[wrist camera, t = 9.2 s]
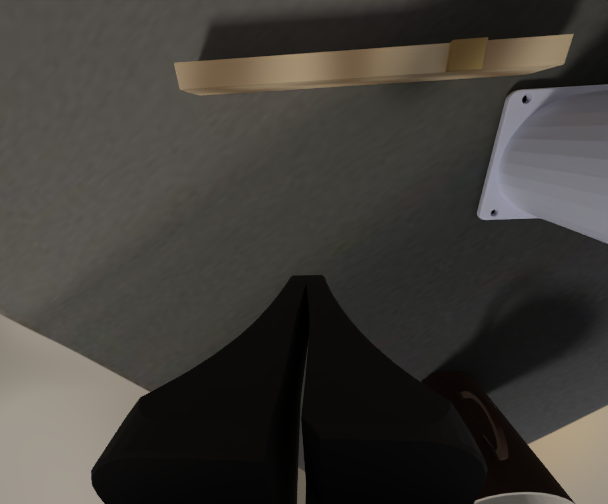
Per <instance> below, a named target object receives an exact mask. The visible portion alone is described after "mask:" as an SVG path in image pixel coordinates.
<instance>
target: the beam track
mask: <svg viewBox="0 0 608 504" xmlns="http://www.w3.org/2000/svg"><path fill="white" fill-rule="evenodd" d="M572 38H573V34H566V35H553V36H539V37H525V38H511V39H497V40H488V37H485V38H471V39H457V40H453V41H451V42H450V43H442V44H428V45H415V46H401V47H387V48H373V49H359V50H346V51H332V52H318V53H304V54H290V55H277V56H263V57H249V58H235V59H221V60H208V61H194V62H180V63H174V65H175V69H176V74H177V78H178V83H179V87H180V90H183V91H186V92H189V93H193V94H196V95H199V96H200V95H215V94H231V93H247V92H262V91H278V90H294V89H309V88H325V87H341V86H357V85H372V84H388V83H404V82H419V81H435V80H451V79H466V78H482V77H498V76H513V75H527V74H531V73H534V72H538V71H542V70H545V69H549V68H552V67H556V66H560V65H563V64H564V62H565V59H566V56H567V53H568V50H569V47H570V44H571V41H572Z"/></svg>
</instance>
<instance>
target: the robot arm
mask: <svg viewBox="0 0 608 504" xmlns="http://www.w3.org/2000/svg"><path fill="white" fill-rule="evenodd" d="M525 95H526V97H527V100H526V102H525V103H524V104H523V102H522V98H523V97H524V96H525ZM493 210H495V212H494V213H493V214H492V215H491V212H492V211H493ZM477 216H478V217H479V218H481V219H483V220H495V219H528V218H542V219H544V220H547V221H550V222H552V223H555V224H558V225H560V226H563V227H565V228H568V229H571V230H573V231H576V232H579V233H581V234H584V235H587V236H589V237H592V238H594V239H597V240H600V241H602V242H605V243H608V84H605V85H589V86H572V87H555V88H539V89H522V90H516V91H513V92H511V93H510V94H509V95H508V96H507V98H506V100H505V104H504V108H503V112H502V116H501V120H500V124H499V128H498V131H497V135H496V139H495V143H494V147H493V151H492V155H491V159H490V163H489V167H488V171H487V175H486V179H485V183H484V187H483V191H482V195H481V199H480V203H479V207H478V211H477ZM308 338H309V341H308ZM307 346H308V355H307V367H306V378H305V388H304V398H303V407H302V416H301V421H302V434H303V447H304V461H305V474H306V504H474V502H475V500H476V498H477V496H478V495H479V493H480V491H481V489H482V487H483V485H484V482H485V479H486V475H487V471H488V469H487V465H486V462H485V459H484V457H483V455H482V453H481V451H480V449H479V447H478V445H477V443H476V441H475V440H474V438H473V436H472V434H471V433H470V431H469V429H468V428H467V426H466V425H465V423H464V421H463V420H462V418H461V417H460V415H459V414H458V412H457V411H456V409H455V408H454V406H453V405H452V403H451V402H450V401H449V400H447V399H446V398H444V397H442V396H441V395H439V394H438V393H436V392H435V391H433V390H432V389H430V388H429V387H427V386H426V385H424V384H423V383H421V382H420V381H418V380H417V379H415V378H414V377H412V376H411V375H409V374H408V373H407V372H405V371H404V370H403V369H401V368H400V367H399V366H398V365H396V364H395V363H394V362H392V361H391V360H390V359H389V358H388V357H387V356H386V355H384V354H383V353H382V352H381V351H380V350H379V349H377V348H376V347H375V346H374V345H373V344H372V343H371V342H370V341H369V340H368V339H367V338H366V337H365V336H364V335H363V334H362V333H361V332H360V331H359V330H358V328H357V327H356V326H355V325H354V324H353V323H352V321H351V320H350V319H349V318H348V316H347V315H346V314H345V312H344V311H343V310H342V308H341V307H340V305H339V304H338V302H337V301H336V299H335V298H334V296H333V294H332V293H331V291H330V289H329V287H328V285H327V283H326V280H325V277H324V276H323V275H302V276H292V277H291V278H290V279H289V281H288V282H287V284H286V285H285V287H284V288H283V289H282V291H281V292H280V293H279V295H278V296H277V297H276V298H275V300H274V301H273V302H272V303H271V305H270V306H269V307H268V308H267V309H266V310H265V311H264V312H263V313H262V315H261V316H260V317H259V318H258V319H257V320H256V321H255V322H254V323H253V324H252V325H251V326H250V327H249V328H247V329H246V330H245V331H244V332H243V333H242V334H241V335H240V336H238V337H237V338H236V339H235V340H233V341H232V342H231V343H229V344H228V345H227V346H225V347H224V348H223V349H221V350H220V351H219V352H217V353H216V354H214V355H213V356H211V357H210V358H208V359H207V360H205V361H204V362H202V363H201V364H199V365H198V366H196V367H194V368H193V369H191V370H190V371H188V372H186V373H185V374H183V375H181V376H179V377H178V378H176V379H174V380H172V381H170V382H168V383H167V384H165V385H163V386H161V387H159V388H157V389H155V390H154V391H152V392H150V393H148V394H146V395H144V396H142V397H140V399H139V400H138V402H137V403H136V404H135V406H134V407H133V408H132V410H131V411H130V412H129V414H128V415H127V417H126V418H125V420H124V421H123V423H122V424H121V426H120V427H119V429H118V430H117V432H116V433H115V435H114V436H113V438H112V439H111V441H110V443H109V444H108V446H107V447H106V449H105V450H104V452H103V453H102V455H101V456H100V458H99V459H98V461H97V462H96V464H95V466H94V467H93V469H92V470H91V474H92V475H91V480H92V486H93V487H94V489H95V491H96V493H97V495H98V496H99V497H100V498H101V500H102V501H103V502H104V503H105V504H297V482H298V454H299V428H300V404H301V392H302V383H303V376H304V368H305V361H306V353H307Z"/></svg>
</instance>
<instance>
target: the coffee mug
mask: <svg viewBox="0 0 608 504" xmlns="http://www.w3.org/2000/svg"><path fill="white" fill-rule="evenodd" d="M421 383H423V384H424V385H426V386H427V387H429V388H430V389H432V390H433V391H435V392H436V393H438V394H439V395H441V396H442V397H444V398H446V399H447V400H449V401H450V402H451V403H452V405H453V406H454V408H455V409H456V411H457V412H458V414H459V415H460V417H461V418H462V420H463V421H464V423H465V425H466V426H467V428H468V429H469V431H470V433H471V434H472V436H473V438H474V440H475V441H476V443H477V445H478V447H479V449H480V451H481V453H482V455H483V457H484V459H485V462H486V465H487V469H488V471H487V475H486V479H485V482H484V485H483V487H482V489H481V491H480V493H479V495H478V496H477V498H476V500H475V502H474V504H575V503H574V502H573V501H572V499H571V498H570V497H569V496H568V495H567V493H566V492H565V491H564V489H563V488H562V487H561V486H560V484H559V483H558V482H557V481H556V480H555V478H554V477H553V476H552V475H551V473H550V472H549V471H548V470H547V468H546V467H545V466H544V465H543V463H542V462H541V461H540V460H539V458H538V457H537V456H536V455H535V453H534V452H533V451H532V450H531V449H530V448H529V446H528V445H527V444H526V442H525V441H524V440H523V439H522V437H521V436H520V435H519V434H518V432H517V431H516V430H515V429H514V427H513V426H512V425H511V424H510V423H509V421H508V420H507V419H506V418H505V416H504V415H503V414H502V413H501V411H500V410H499V409H498V408H497V406H496V405H495V404H494V403H493V401H492V400H491V399H490V398H489V397H488V395H487V394H486V393H485V392H484V390H483V389H482V388H481V387H480V385H479V384H478V383H477V382H476V380H475V379H474V378H473V377H472V376H470V375H468V374H466V373H463V372H459V371H444V372H439V373H436V374H433V375H431V376H429V377H427V378H426V379H424V380H423V381H422V382H421Z"/></svg>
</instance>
